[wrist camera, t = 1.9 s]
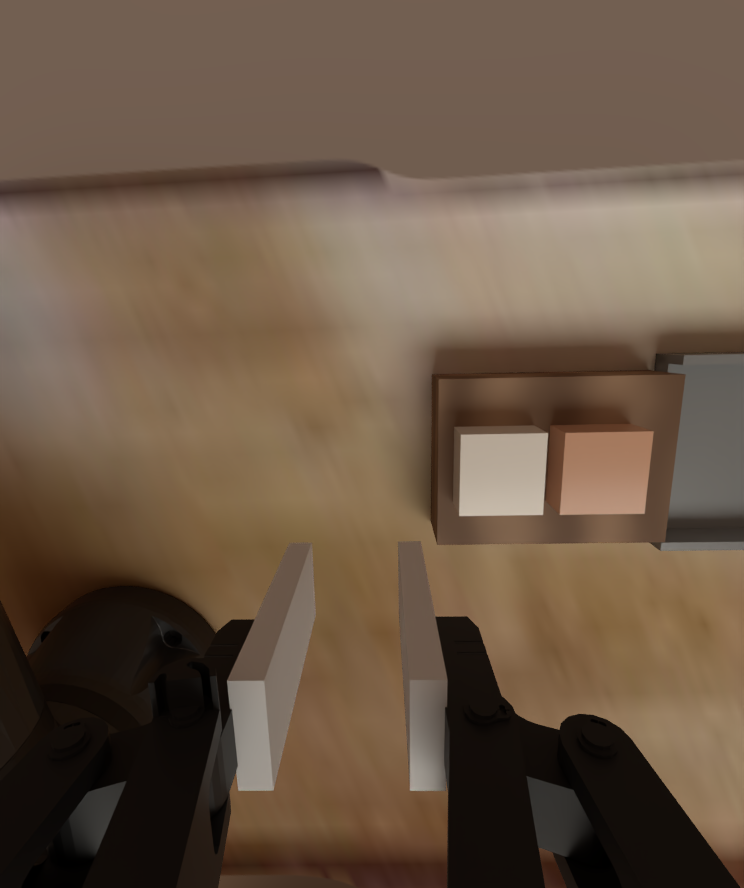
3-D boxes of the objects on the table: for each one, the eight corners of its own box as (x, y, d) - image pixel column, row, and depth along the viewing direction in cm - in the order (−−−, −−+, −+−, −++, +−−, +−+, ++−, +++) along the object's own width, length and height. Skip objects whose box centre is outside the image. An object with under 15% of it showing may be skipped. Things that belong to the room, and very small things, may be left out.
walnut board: (431, 522, 35) (437, 544, 31) (431, 374, 33) (438, 379, 29) (632, 519, 35) (664, 542, 31) (648, 370, 32) (685, 374, 28)
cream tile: (453, 501, 30) (459, 516, 28) (454, 426, 29) (460, 434, 27) (530, 500, 30) (543, 515, 28) (534, 425, 29) (548, 433, 27)
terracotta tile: (545, 500, 30) (559, 514, 28) (550, 425, 29) (565, 432, 27) (623, 499, 30) (644, 513, 28) (630, 423, 29) (653, 431, 27)
